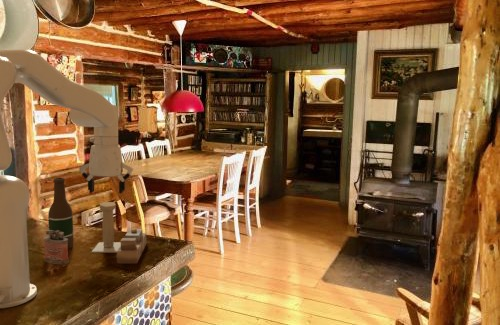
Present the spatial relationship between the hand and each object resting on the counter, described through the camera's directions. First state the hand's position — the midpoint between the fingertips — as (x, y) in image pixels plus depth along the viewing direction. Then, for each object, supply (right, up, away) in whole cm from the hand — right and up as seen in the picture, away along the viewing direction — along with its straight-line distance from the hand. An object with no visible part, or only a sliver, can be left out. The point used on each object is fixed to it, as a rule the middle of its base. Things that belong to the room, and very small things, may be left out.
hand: (106, 192), depth 140 cm
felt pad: (0, -19, +3) cm, 20 cm away
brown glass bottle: (-16, -19, +3) cm, 25 cm away
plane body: (+9, -20, -1) cm, 22 cm away
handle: (0, -19, +3) cm, 19 cm away
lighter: (-12, -21, -10) cm, 26 cm away
